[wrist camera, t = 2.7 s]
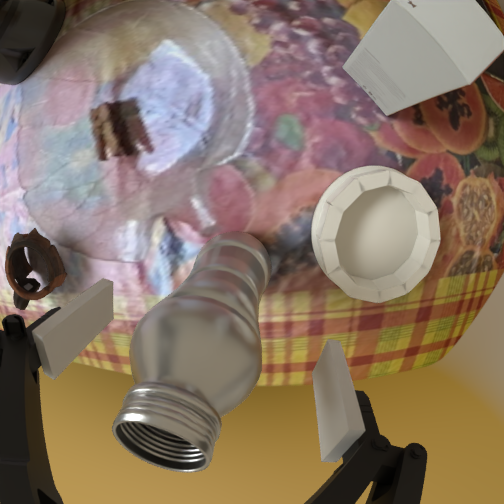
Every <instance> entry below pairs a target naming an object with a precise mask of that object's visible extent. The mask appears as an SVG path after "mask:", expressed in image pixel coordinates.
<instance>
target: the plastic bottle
mask: <svg viewBox="0 0 504 504" xmlns="http://www.w3.org/2000/svg"><path fill="white" fill-rule="evenodd" d="M271 268H272V266H271V261H270V257H269V255H268V253H267V250H266V248H265V247H264V246H263V244H262V243H261V242H260V241H259V240H258V239H257V238H255V237H253V236H252V235H250V234H247V233H244V232H238V231H236V232H227V233H223V234H220V235H218V236H216V237H213V238H212V239H210V240H209V241H208V242H207V243H206V244H205V245H204V246H203V247H202V248H201V250H200V252H199V253H198V256H197V258H196V260H195V263H194V267H193V269H192V271H191V273H190V275H189V276H188V278H187V279H186V280H185V281H184V282H183V283H182V284H181V285H180V286H179V287H178V288H177V289H176V290H175V291H173V292H172V293H171V294H169V295H168V296H167V297H166V298H164V299H163V300H162V301H160V302H159V303H158V304H156V305H155V306H154V307H152V308H151V309H150V311H149V312H147V313H146V314H145V315H144V316H143V318H142V319H141V320H140V321H139V322H138V324H137V326H136V328H135V330H134V333H133V336H132V340H131V344H130V350H129V356H130V364H131V371H132V376H133V379H134V382H135V385H134V386H132V387H131V388H130V389H129V391H128V392H127V394H126V396H125V397H124V399H123V406H122V408H121V410H120V412H119V413H118V415H117V417H116V419H115V421H114V423H113V426H112V432H113V435H114V436H115V438H116V440H117V441H118V442H119V443H120V444H121V445H122V446H123V447H124V448H125V449H126V450H127V451H129V452H130V453H132V454H133V455H135V456H136V457H138V458H140V459H141V460H143V461H145V462H147V463H149V464H152V465H154V466H157V467H160V468H163V469H167V470H171V471H178V472H197V471H202V470H204V469H206V468H207V467H208V466H209V464H210V462H211V460H212V455H213V450H214V446H215V442H216V441H217V439H218V438H219V435H220V430H221V425H222V423H221V418H220V417H222V416H224V415H226V414H227V413H229V412H230V411H232V410H233V409H234V408H236V407H237V406H238V405H239V404H241V403H242V402H243V401H244V400H245V399H246V398H247V397H248V396H249V394H250V393H251V391H252V390H253V388H254V386H255V385H256V383H257V381H258V380H259V377H260V374H261V371H262V347H261V338H260V331H259V323H258V315H259V303H260V300H261V297H262V294H263V293H264V291H265V289H266V287H267V285H268V283H269V280H270V276H271Z"/></svg>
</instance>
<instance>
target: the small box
mask: <svg viewBox="0 0 504 504" xmlns="http://www.w3.org/2000/svg"><path fill="white" fill-rule="evenodd" d="M503 51H504V36H503V35H502V33H501V32H500V30H499V29H498V28H497V26H496V25H495V24H494V22H493V21H492V20H491V19H490V17H489V16H488V15H487V14H486V12H485V11H484V10H483V9H482V7H481V6H480V5H479V4H478V3H477V2H476V1H475V0H391V1H390V2H389V3H388V5H387V6H386V7H385V9H384V10H383V11H382V13H381V14H380V15H379V17H378V18H377V19H376V21H375V22H374V23H373V25H372V26H371V28H370V29H369V30H368V32H367V33H366V35H365V36H364V38H363V39H362V40H361V42H360V43H359V45H358V46H357V48H356V49H355V50H354V52H353V53H352V54H351V56H350V57H349V58H348V60H347V61H346V62H345V64H344V65H343V67H342V68H343V69H344V70H345V71H346V72H347V73H348V74H349V75H350V76H351V77H352V78H353V79H354V80H355V81H356V82H357V83H358V84H359V85H360V86H361V88H362V89H363V90H364V91H365V92H366V93H367V94H368V95H369V96H370V97H371V98H372V100H373V101H374V102H375V103H376V104H377V105H378V106H379V108H380V109H381V110H382V111H383V112H384V114H385V115H386V116H389V115H391V114H394V113H396V112H398V111H401V110H403V109H405V108H408V107H410V106H413V105H415V104H418V103H421V102H423V101H426V100H428V99H431V98H434V97H436V96H439V95H442V94H445V93H447V92H450V91H453V90H456V89H459V88H462V87H466V86H469V85H471V84H472V83H473V82H474V81H475V80H476V79H477V78H478V77H479V76H480V75H481V74H482V73H483V72H484V71H485V70H486V69H487V68H488V67H489V66H490V65H491V64H492V63H493V62H494V61H495V60H496V59H497V58H498V57H499V56H500V55H501V54H502V52H503Z"/></svg>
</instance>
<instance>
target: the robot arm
mask: <svg viewBox="0 0 504 504" xmlns="http://www.w3.org/2000/svg"><path fill="white" fill-rule="evenodd" d="M65 10H66V9H65V4H64V2H63V1H62V0H0V83H1V84H8V85H15V84H18V83H20V82H21V81H23V80H24V79H25V78H26V77H28V76H29V75H30V74H31V73H32V71H33V70H34V69H35V68H36V67H37V66H38V64H39V63H40V62H41V60H42V59H43V58H44V56H45V55H46V53H47V52H48V50H49V49H50V47H51V45H52V44H53V42H54V40H55V38H56V36H57V34H58V32H59V30H60V28H61V26H62V23H63V20H64V16H65ZM113 319H114V317H113V281H110V280H107V279H104V278H103V279H101V280H100V281H99V282H97V283H96V284H94V285H93V286H91V287H90V288H89V289H87V290H86V291H84V292H83V293H82V294H80V295H79V296H77V297H76V298H75V299H73V300H72V301H71V302H69V303H68V304H67V305H65V306H64V307H62V308H61V307H57V308H54V309H51V310H50V311H48V312H47V313H46V314H45V315H43V316H42V317H41V318H39V319H38V320H36V321H35V322H34V323H32V324H31V325H30V326H28V327H27V328H26V327H25V323H24V319H23V318H22V316H20V315H16V314H12V315H8V316H6V317H5V318H4V319H3V321H2V325H3V328H4V331H2V330H0V504H63V501H62V499H61V497H60V495H59V493H58V491H57V489H56V487H55V484H54V480H53V477H52V472H51V469H50V464H49V459H48V455H47V449H46V443H45V437H44V430H43V423H42V414H41V402H40V385H39V371H38V368H39V367H40V366H41V365H42V368H43V371H44V373H45V374H46V375H48V376H49V377H51V378H52V379H54V380H55V379H56V378H57V377H58V376H59V375H60V374H61V373H62V372H63V370H64V369H65V368H66V367H67V366H68V365H69V364H70V363H71V362H72V361H73V360H74V359H75V358H76V357H77V356H78V354H79V353H80V352H81V351H82V350H83V349H84V348H85V347H86V346H87V345H88V344H89V343H90V342H91V341H92V340H93V339H94V338H95V337H96V336H97V335H98V334H99V333H100V332H101V331H102V330H103V329H104V328H105V327H106V326H107V325H108V324H109V323H110V322H111V321H112V320H113ZM312 377H313V385H314V393H315V401H316V410H317V419H318V429H319V440H320V451H321V461H322V462H337V461H338V460H339V459H340V458H341V457H342V458H343V464H342V465H340V466H339V467H338V468H337V469H336V470H335V471H334V473H333V475H332V476H331V477H330V478H329V479H328V480H327V481H326V482H325V483H324V484H323V485H322V486H321V488H319V490H318V491H317V492H316V493H315V494H314V495H313V496H312V497H311V498H309V499H308V500H307V501H306V502H305V503H304V504H355V503H356V501H357V500H358V499H359V497H360V496H361V495H362V493H363V492H364V490H365V489H366V488H367V486H368V485H369V484H370V482H371V481H373V485H372V488H371V491H370V493H369V496H368V499H367V501H366V504H420V500H421V495H422V489H423V484H424V478H425V471H426V463H427V451H426V450H425V448H424V447H423V446H422V445H420V444H418V443H411V444H409V445H408V446H406V447H405V448H400V447H396V446H393V445H391V444H390V442H389V440H388V439H387V438H386V437H384V436H382V435H380V433H379V430H378V426H377V423H376V420H375V416H374V413H373V410H372V407H371V404H370V400H369V398H368V396H367V395H366V394H365V393H364V391H356V390H354V386H353V382H352V379H351V375H350V372H349V369H348V365H347V362H346V359H345V355H344V352H343V349H342V346H341V343H340V341H337V340H331V339H328V340H327V342H326V345H325V347H324V349H323V351H322V353H321V356H320V358H319V360H318V362H317V364H316V366H315V368H314V370H313V372H312Z"/></svg>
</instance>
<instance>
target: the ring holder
mask: <svg viewBox="0 0 504 504" xmlns="http://www.w3.org/2000/svg"><path fill="white" fill-rule="evenodd" d="M436 208H437V207H436V205H435V204H434V202H433V201H432V199H431V198H430V196H429V195H428V193H427V192H426V191H425V189H424V188H423V186H422V185H421V183H419V182H418V181H416V180H414V179H411V178H409V177H407V176H405V175H404V174H402V173H401V172H399V171H397V170H395V169H391V168H388V167H383V166H364V167H359V168H355V169H352V170H350V171H348V172H346V173H344V174H342V175H341V176H339V177H338V178H337V179H336V180H334V181H333V182H332V183H331V184H330V185H329V186H328V187H327V189H326V190H325V191H324V193H323V194H322V196H321V197H320V199H319V201H318V203H317V205H316V208H315V211H314V214H313V218H312V224H311V241H312V247H313V250H314V254H315V257H316V259H317V261H318V263H319V265H320V267H321V269H322V270H323V272H324V273H325V274H326V276H327V277H328V278H329V279H330V280H331V281H332V282H334V283H335V284H336V285H338V286H339V287H340V288H341V289H342V290H343V291H344V292H345V293H346V294H347V295H348V296H350V297H351V298H355V299H360V300H365V301H369V302H374V303H378V302H379V303H381V302H385V301H388V300H391V299H394V298H397V297H400V296H403V295H406V292H407V293H409V292H410V291H411V290H412V289H413V288H414V287H415V286H416V285H417V284H418V283H419V282H420V281H421V280H422V279H423V278H424V277H425V276H426V275H427V274H428V273H429V271H430V269H431V266H432V264H433V261H434V258H435V256H436V253H437V250H438V247H439V244H440V241H439V240H440V227H439V218H438V209H436ZM428 270H429V271H428Z"/></svg>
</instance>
